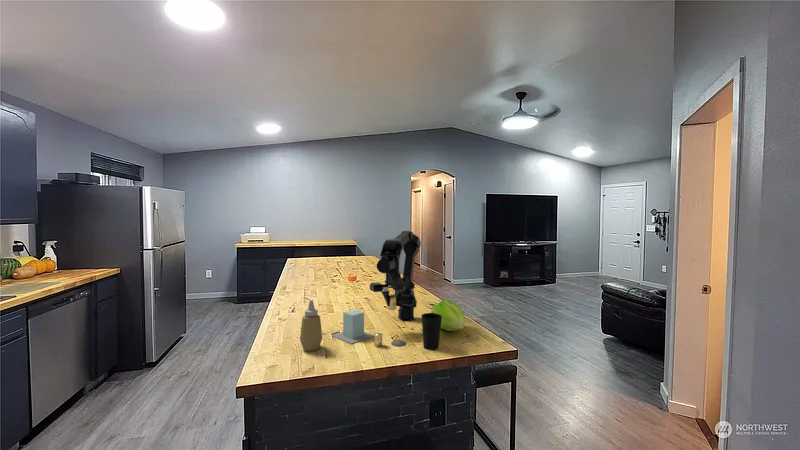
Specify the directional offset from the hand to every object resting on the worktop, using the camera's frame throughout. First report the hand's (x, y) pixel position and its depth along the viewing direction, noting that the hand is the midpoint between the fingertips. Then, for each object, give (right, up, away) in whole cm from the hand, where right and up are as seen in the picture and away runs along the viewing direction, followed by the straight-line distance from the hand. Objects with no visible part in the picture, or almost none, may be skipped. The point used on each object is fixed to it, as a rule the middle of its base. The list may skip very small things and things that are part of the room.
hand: (392, 305), depth 147 cm
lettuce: (+25, -12, +1) cm, 27 cm away
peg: (0, -1, 0) cm, 1 cm away
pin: (-5, -12, -16) cm, 20 cm away
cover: (-16, -11, -6) cm, 20 cm away
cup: (+15, -12, -16) cm, 25 cm away
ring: (+3, -12, -13) cm, 18 cm away
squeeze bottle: (-30, -12, -19) cm, 37 cm away
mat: (-16, -11, -6) cm, 20 cm away
